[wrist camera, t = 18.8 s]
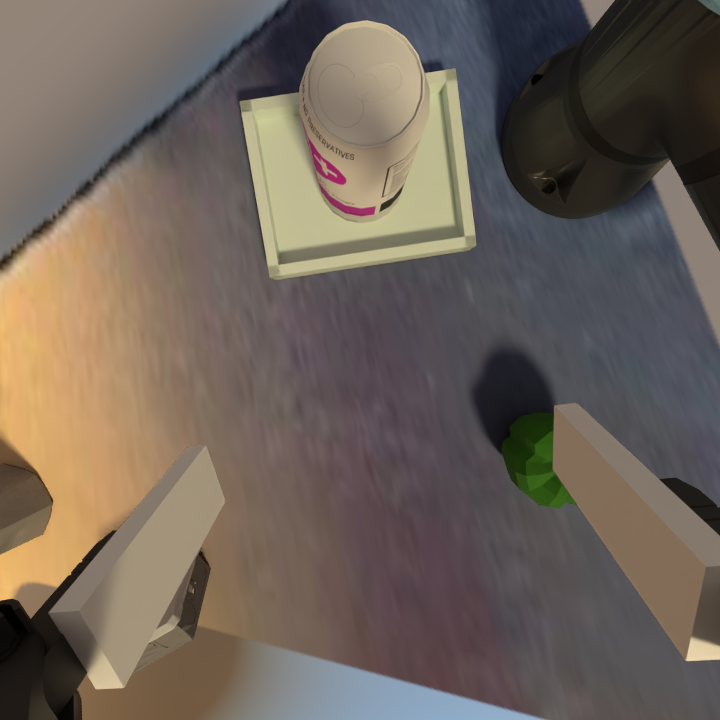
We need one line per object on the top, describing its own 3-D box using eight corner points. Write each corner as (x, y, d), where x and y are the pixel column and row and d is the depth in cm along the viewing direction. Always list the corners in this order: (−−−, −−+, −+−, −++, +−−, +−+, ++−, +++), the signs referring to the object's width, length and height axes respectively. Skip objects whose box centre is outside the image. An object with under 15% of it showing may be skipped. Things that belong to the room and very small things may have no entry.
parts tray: (448, 85, 37) (455, 68, 34) (468, 250, 38) (476, 245, 36) (247, 116, 37) (239, 101, 34) (275, 280, 38) (269, 277, 36)
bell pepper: (545, 491, 41) (607, 544, 31) (478, 462, 41) (518, 507, 31) (580, 422, 40) (654, 454, 30) (511, 391, 40) (564, 414, 30)
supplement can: (336, 237, 37) (323, 178, 22) (307, 154, 36) (275, 37, 22) (413, 209, 37) (453, 131, 22) (386, 126, 36) (408, -12, 21)
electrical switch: (198, 535, 41) (159, 605, 32) (226, 570, 42) (195, 648, 33) (127, 577, 41) (67, 659, 32) (156, 611, 42) (106, 699, 33)
